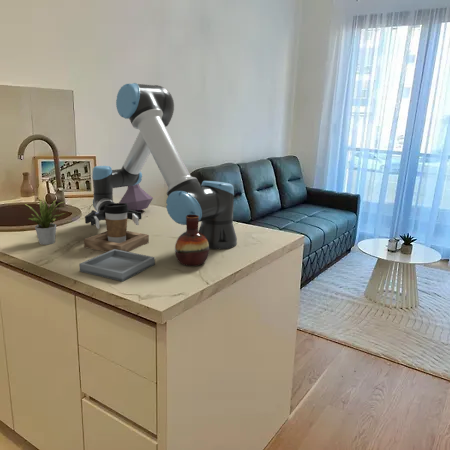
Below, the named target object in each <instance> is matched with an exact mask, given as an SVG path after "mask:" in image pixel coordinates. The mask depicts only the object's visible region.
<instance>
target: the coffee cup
mask: <svg viewBox="0 0 450 450" xmlns="http://www.w3.org/2000/svg"><path fill="white" fill-rule="evenodd" d="M104 212H105V215H106V217H105V220H104V221H105V227H106V228H105V229H106V231H107V235H108V241H110V242H115V243H121V242H124V241H126V231H128V230H127V227H128V219H127V218H128V217H127V212H128V206H127V204H126V203H119V202H114V203H110V204H106V205H105V208H104Z"/></svg>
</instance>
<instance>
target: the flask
mask: <svg viewBox="0 0 450 450" xmlns="http://www.w3.org/2000/svg"><path fill="white" fill-rule="evenodd" d="M153 199H154V198H153V197H152V196H151V195H150V194H149V193H147V192H146V191H145V190H144V189H143V188H141V185H140V183H139V184H136V185H133V186H127V190H126V192H125V193H124V195H123V196H122V197H121V199H120V200H119V202H118V203H126V204H127V206H128V209H130V210H133V211H141V210H146V209H148V208H149V206H150V204H151V203H152V200H153Z"/></svg>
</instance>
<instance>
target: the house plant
mask: <svg viewBox="0 0 450 450" xmlns="http://www.w3.org/2000/svg"><path fill="white" fill-rule="evenodd" d="M42 200H43V202H42ZM56 201H58V200H57V199H56V200H53V202H52V203H51V205H50V206H48V203H47V201H46V200H45V198H42V199H39V202H38V203H39V213H40V215H39V214H38V212H37V210H35V209H34V208H33V207H32V206H30V205H28V204H26V203H24V205H25V206H27V207H29V209H30V210H31V211H33V212H34V214H35V215H34V214H33V213H30V214H31V217H29V218H27V219H28V220H31V221H34V222H36V224H37V225H35V226H34V229H35V232H36V235H37V239H38V243H39V244H40V245H45V246H46V245H52V244H54V243H56V232H57V224H56V223H55V221H57V219H58V218H59V217H60V216H61V217H62V215H64V214H65V215H66V212H65V213H60V214H56V212H57V210H59V209H60V208H64V207H65V206H59V205H61V204H63V203H64V201H61V202H58V203H56ZM58 206H59V207H58ZM57 207H58V208H57ZM54 214H55V215H54Z"/></svg>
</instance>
